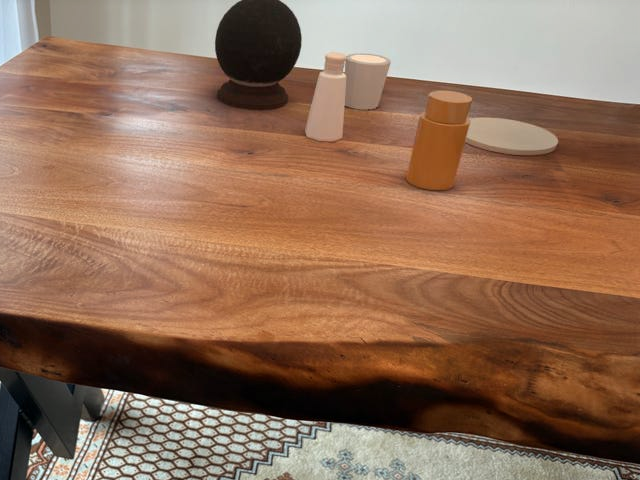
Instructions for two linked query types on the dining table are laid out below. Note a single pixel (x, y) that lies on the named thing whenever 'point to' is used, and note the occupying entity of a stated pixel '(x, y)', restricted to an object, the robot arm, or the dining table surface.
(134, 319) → the dining table surface
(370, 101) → the white tapered cup
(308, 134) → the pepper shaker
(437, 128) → the jar
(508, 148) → the disc
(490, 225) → the dining table surface
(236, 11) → the ball on pedestal
